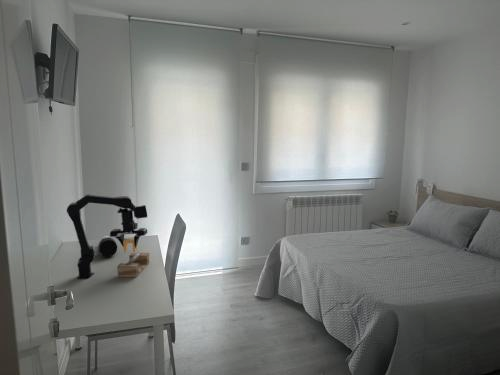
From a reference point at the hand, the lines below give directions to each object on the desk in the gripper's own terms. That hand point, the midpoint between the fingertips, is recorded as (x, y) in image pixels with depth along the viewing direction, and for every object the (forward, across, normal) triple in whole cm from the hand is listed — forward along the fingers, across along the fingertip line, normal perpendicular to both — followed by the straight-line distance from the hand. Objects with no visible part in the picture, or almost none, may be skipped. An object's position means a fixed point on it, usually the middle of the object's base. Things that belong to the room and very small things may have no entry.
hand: (130, 247), depth 192 cm
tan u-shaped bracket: (+2, 0, 0) cm, 2 cm away
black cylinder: (+13, +28, -33) cm, 45 cm away
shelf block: (+12, -2, +1) cm, 13 cm away
